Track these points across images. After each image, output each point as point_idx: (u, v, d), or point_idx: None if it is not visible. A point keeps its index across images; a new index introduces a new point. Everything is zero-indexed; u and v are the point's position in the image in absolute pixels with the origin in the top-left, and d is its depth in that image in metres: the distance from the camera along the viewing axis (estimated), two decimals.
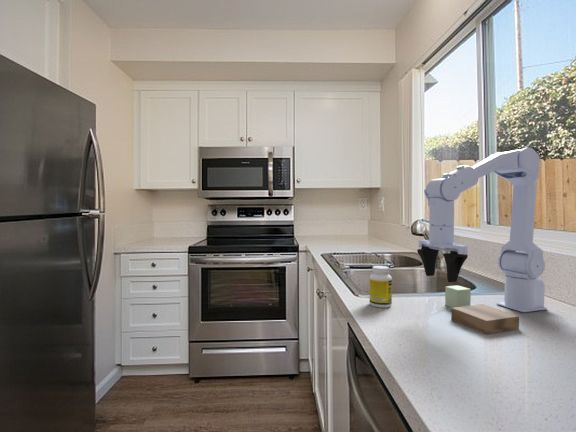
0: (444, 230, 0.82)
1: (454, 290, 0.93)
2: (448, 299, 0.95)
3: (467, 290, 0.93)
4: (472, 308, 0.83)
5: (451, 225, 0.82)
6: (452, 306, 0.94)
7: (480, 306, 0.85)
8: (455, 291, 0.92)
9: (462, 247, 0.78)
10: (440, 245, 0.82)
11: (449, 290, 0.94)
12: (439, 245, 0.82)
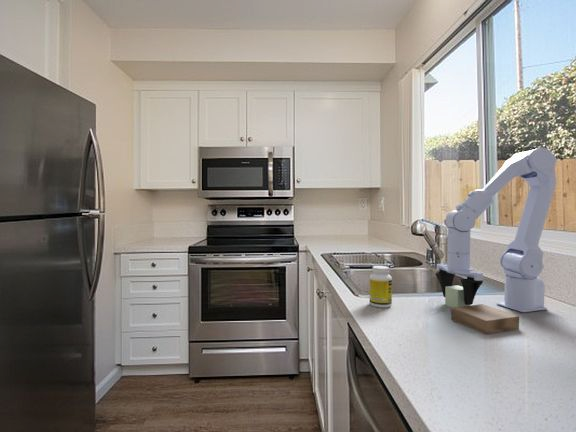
0: (461, 258, 0.91)
1: (454, 290, 0.93)
2: (448, 299, 0.95)
3: None
4: (472, 308, 0.83)
5: (467, 253, 0.92)
6: (452, 306, 0.94)
7: (480, 306, 0.85)
8: (455, 291, 0.92)
9: (478, 274, 0.87)
10: (458, 271, 0.91)
11: (449, 290, 0.94)
12: (457, 271, 0.91)
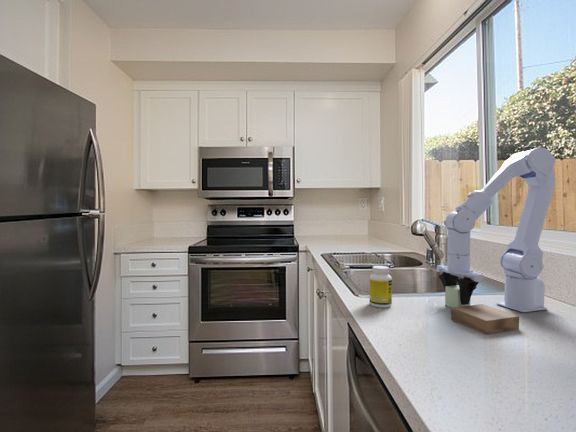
0: (461, 259, 0.91)
1: (454, 290, 0.93)
2: (448, 299, 0.95)
3: None
4: (472, 308, 0.83)
5: (467, 254, 0.92)
6: (452, 306, 0.93)
7: (480, 306, 0.85)
8: (455, 291, 0.92)
9: (478, 275, 0.87)
10: (458, 272, 0.91)
11: (449, 290, 0.94)
12: (457, 272, 0.92)
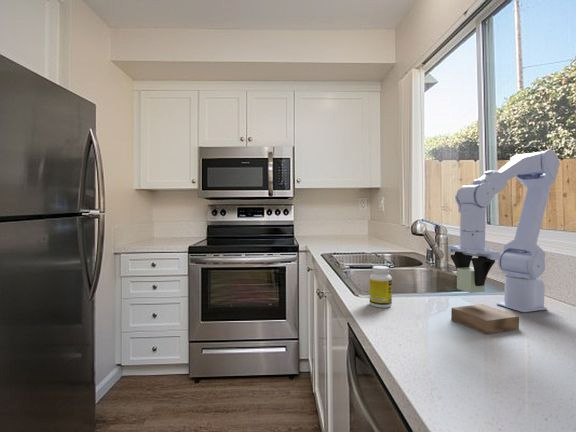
0: (476, 236, 0.83)
1: (467, 271, 0.85)
2: (460, 282, 0.87)
3: None
4: (472, 308, 0.83)
5: (483, 231, 0.84)
6: (465, 289, 0.86)
7: (480, 306, 0.85)
8: (468, 272, 0.84)
9: (495, 253, 0.79)
10: (472, 250, 0.83)
11: (461, 272, 0.86)
12: (471, 250, 0.84)
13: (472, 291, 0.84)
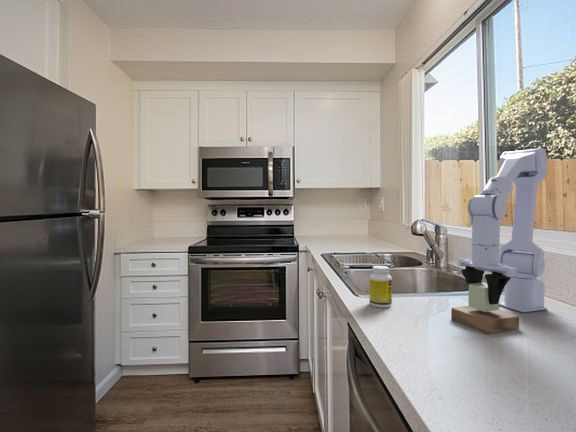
0: (490, 250, 0.77)
1: (480, 288, 0.79)
2: (472, 299, 0.81)
3: None
4: (472, 308, 0.83)
5: (497, 245, 0.78)
6: (477, 307, 0.79)
7: None
8: (481, 289, 0.78)
9: (511, 269, 0.73)
10: (485, 266, 0.77)
11: (473, 288, 0.80)
12: (484, 266, 0.77)
13: (486, 310, 0.78)
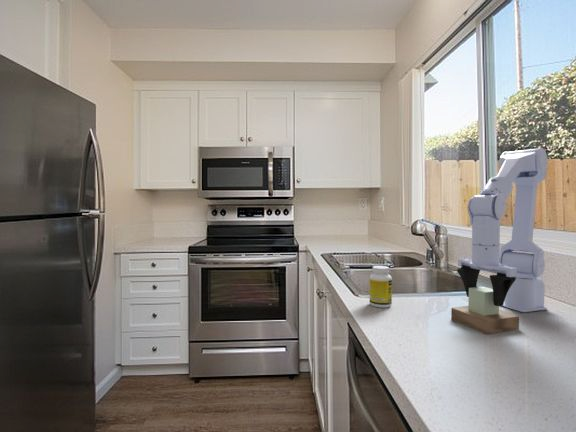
0: (490, 250, 0.77)
1: (480, 292, 0.79)
2: (472, 303, 0.81)
3: None
4: None
5: (497, 245, 0.78)
6: (477, 311, 0.79)
7: None
8: (481, 293, 0.78)
9: (511, 269, 0.73)
10: (485, 266, 0.77)
11: (473, 292, 0.80)
12: (484, 266, 0.77)
13: (486, 314, 0.78)
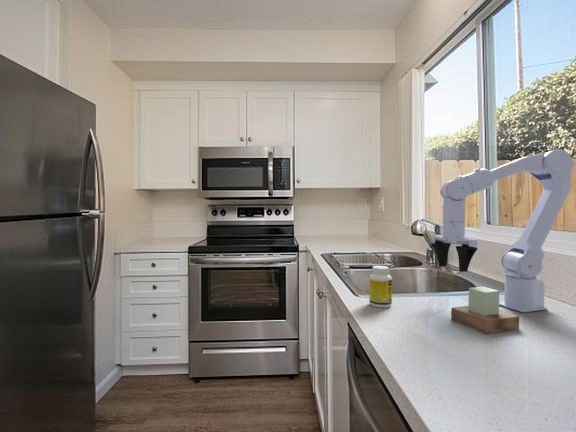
0: (456, 226, 0.93)
1: (480, 292, 0.79)
2: (472, 303, 0.81)
3: (495, 292, 0.79)
4: None
5: (462, 221, 0.93)
6: (477, 311, 0.79)
7: None
8: (481, 293, 0.78)
9: (472, 240, 0.89)
10: (453, 239, 0.93)
11: (473, 292, 0.80)
12: (452, 239, 0.93)
13: (486, 314, 0.78)
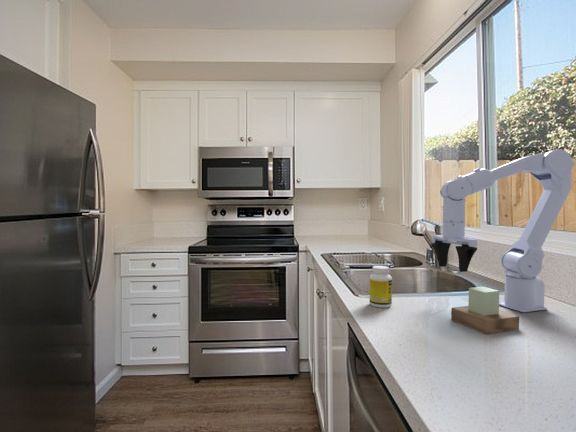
0: (456, 226, 0.93)
1: (480, 292, 0.79)
2: (472, 303, 0.81)
3: (495, 292, 0.79)
4: None
5: (462, 221, 0.93)
6: (477, 311, 0.79)
7: None
8: (481, 293, 0.78)
9: (472, 240, 0.89)
10: (453, 239, 0.93)
11: (473, 292, 0.80)
12: (452, 239, 0.93)
13: (486, 314, 0.78)
